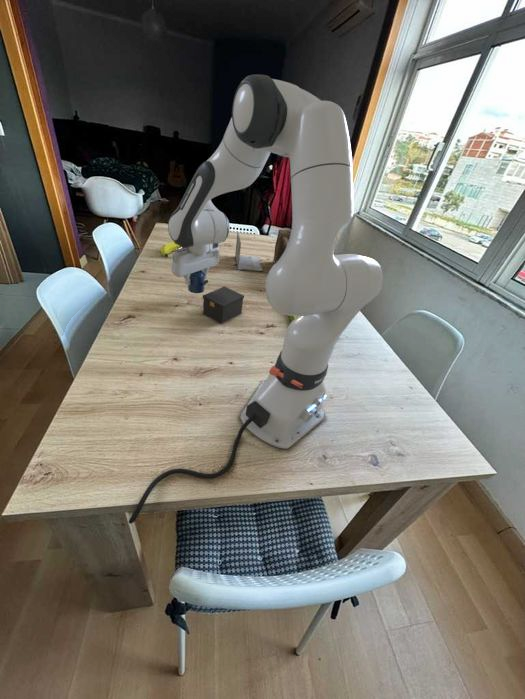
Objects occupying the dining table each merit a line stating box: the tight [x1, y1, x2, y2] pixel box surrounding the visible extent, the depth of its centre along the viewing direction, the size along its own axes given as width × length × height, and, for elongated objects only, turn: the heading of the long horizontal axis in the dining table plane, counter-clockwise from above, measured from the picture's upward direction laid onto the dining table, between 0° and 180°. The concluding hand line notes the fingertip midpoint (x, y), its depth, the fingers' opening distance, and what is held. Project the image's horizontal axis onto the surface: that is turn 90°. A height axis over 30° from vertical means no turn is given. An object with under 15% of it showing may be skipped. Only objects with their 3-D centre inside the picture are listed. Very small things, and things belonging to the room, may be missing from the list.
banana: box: [160, 241, 182, 258], centre depth 146 cm, size 5×17×15 cm
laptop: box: [234, 231, 264, 272], centre depth 146 cm, size 18×12×13 cm
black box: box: [202, 286, 245, 324], centre depth 105 cm, size 12×10×7 cm
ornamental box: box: [272, 229, 291, 264], centre depth 141 cm, size 35×18×18 cm, turn 7°
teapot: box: [187, 270, 209, 294], centre depth 108 cm, size 11×6×8 cm, turn 55°
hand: (196, 281), depth 108 cm, fingers closed on teapot, 6 cm apart
